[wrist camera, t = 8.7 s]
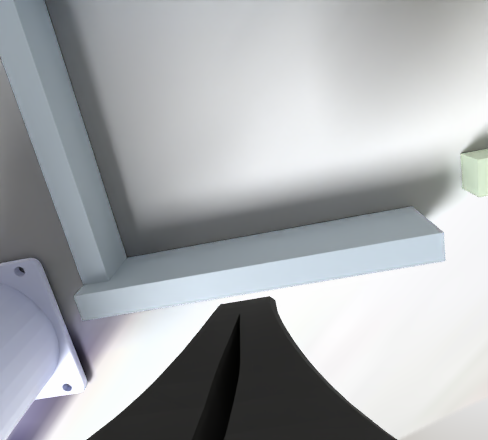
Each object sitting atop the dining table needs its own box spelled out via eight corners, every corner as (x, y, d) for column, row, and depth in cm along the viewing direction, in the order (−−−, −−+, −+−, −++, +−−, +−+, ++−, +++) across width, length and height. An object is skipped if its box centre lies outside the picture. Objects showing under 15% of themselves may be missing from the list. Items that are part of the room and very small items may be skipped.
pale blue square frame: (111, 283, 21) (82, 321, 18) (3, -35, 17) (-62, -64, 13) (414, 230, 19) (445, 261, 16) (381, -137, 15) (415, -199, 12)
